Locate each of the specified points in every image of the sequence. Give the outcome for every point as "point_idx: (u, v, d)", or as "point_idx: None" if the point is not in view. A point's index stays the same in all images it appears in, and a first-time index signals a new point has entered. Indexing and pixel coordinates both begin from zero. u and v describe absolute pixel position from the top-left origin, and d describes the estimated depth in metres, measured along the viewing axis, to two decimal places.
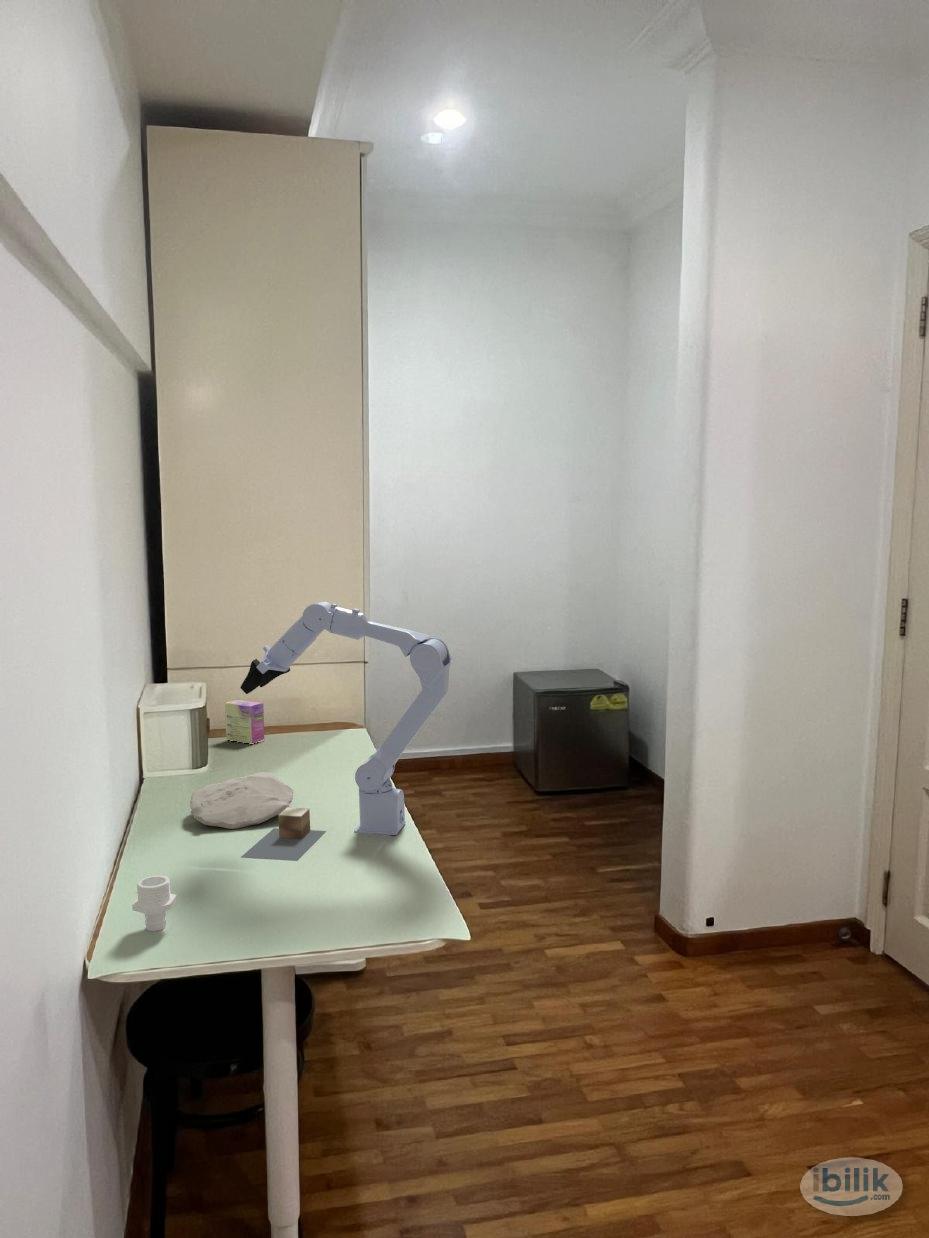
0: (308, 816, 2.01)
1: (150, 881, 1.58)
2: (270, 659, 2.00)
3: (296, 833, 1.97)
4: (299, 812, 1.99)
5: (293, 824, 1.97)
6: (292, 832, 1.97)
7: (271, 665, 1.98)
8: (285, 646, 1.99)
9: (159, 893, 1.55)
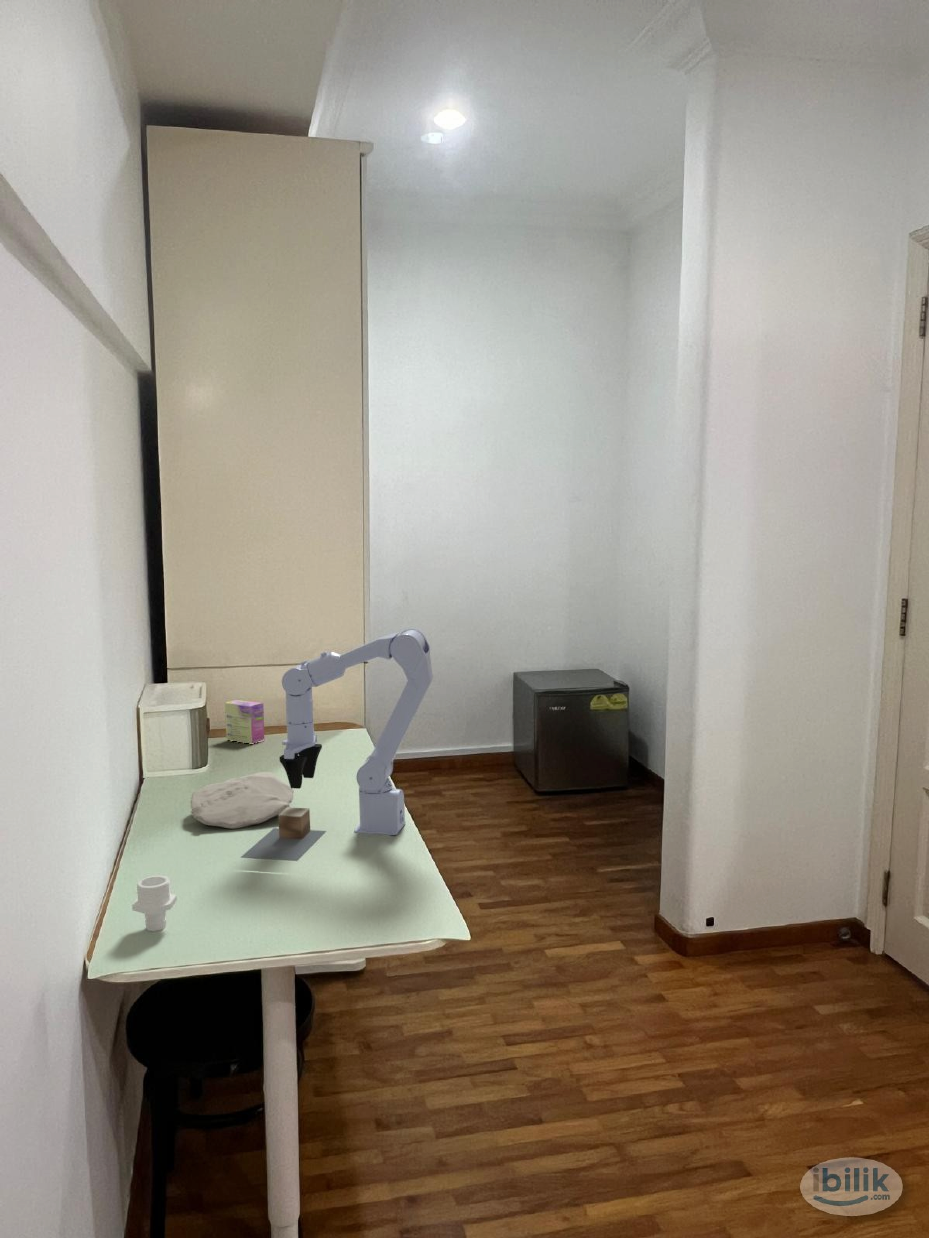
0: (308, 816, 2.01)
1: (150, 881, 1.58)
2: (292, 745, 2.00)
3: (296, 833, 1.97)
4: (299, 812, 1.99)
5: (293, 824, 1.97)
6: (292, 832, 1.97)
7: (295, 748, 1.98)
8: (293, 725, 2.00)
9: (159, 893, 1.55)
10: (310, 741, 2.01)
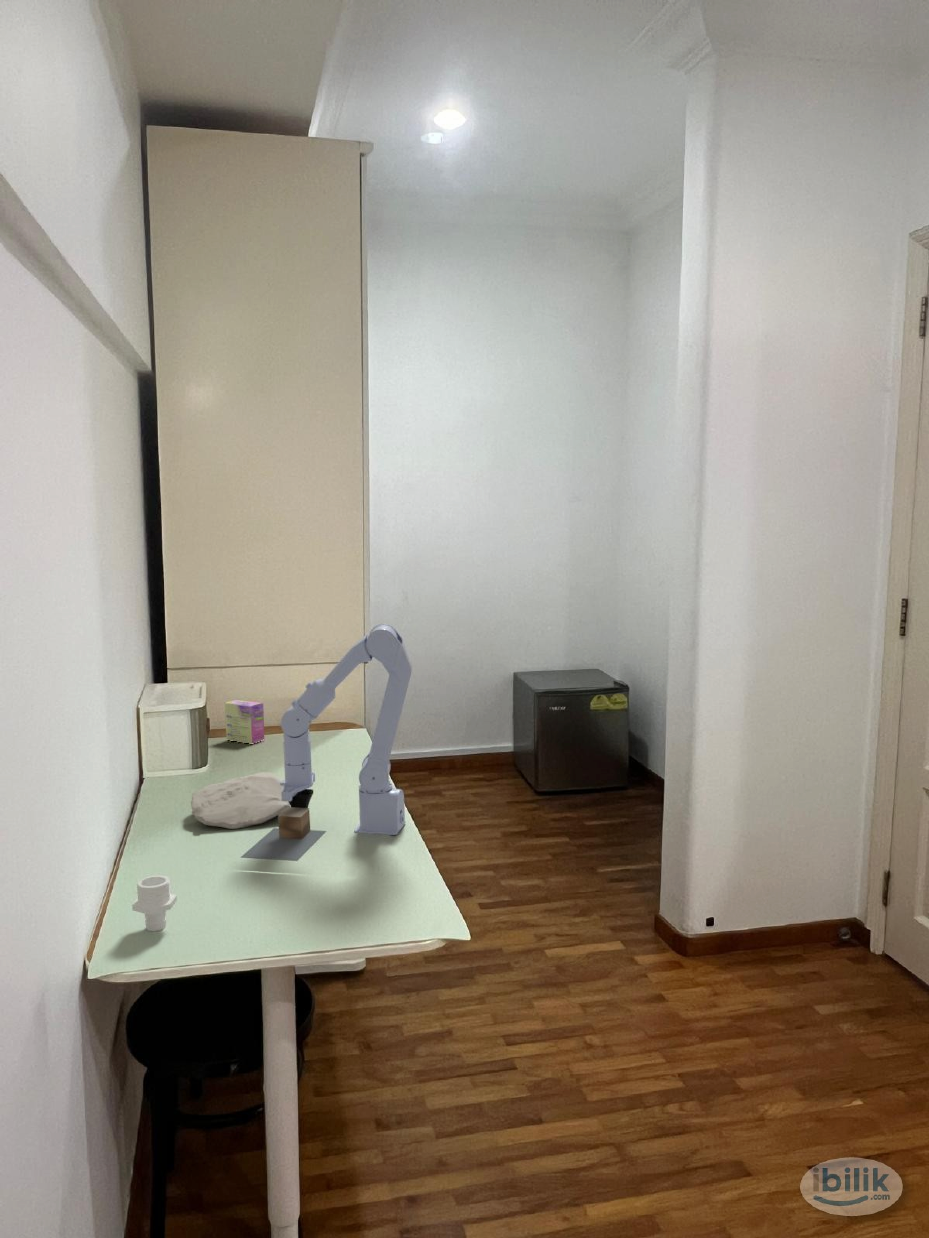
0: (308, 816, 2.01)
1: (150, 881, 1.58)
2: (290, 786, 1.99)
3: (296, 833, 1.97)
4: (299, 812, 1.98)
5: (293, 824, 1.97)
6: (292, 832, 1.97)
7: (293, 790, 1.97)
8: (291, 766, 1.99)
9: (159, 893, 1.55)
10: (308, 782, 2.00)
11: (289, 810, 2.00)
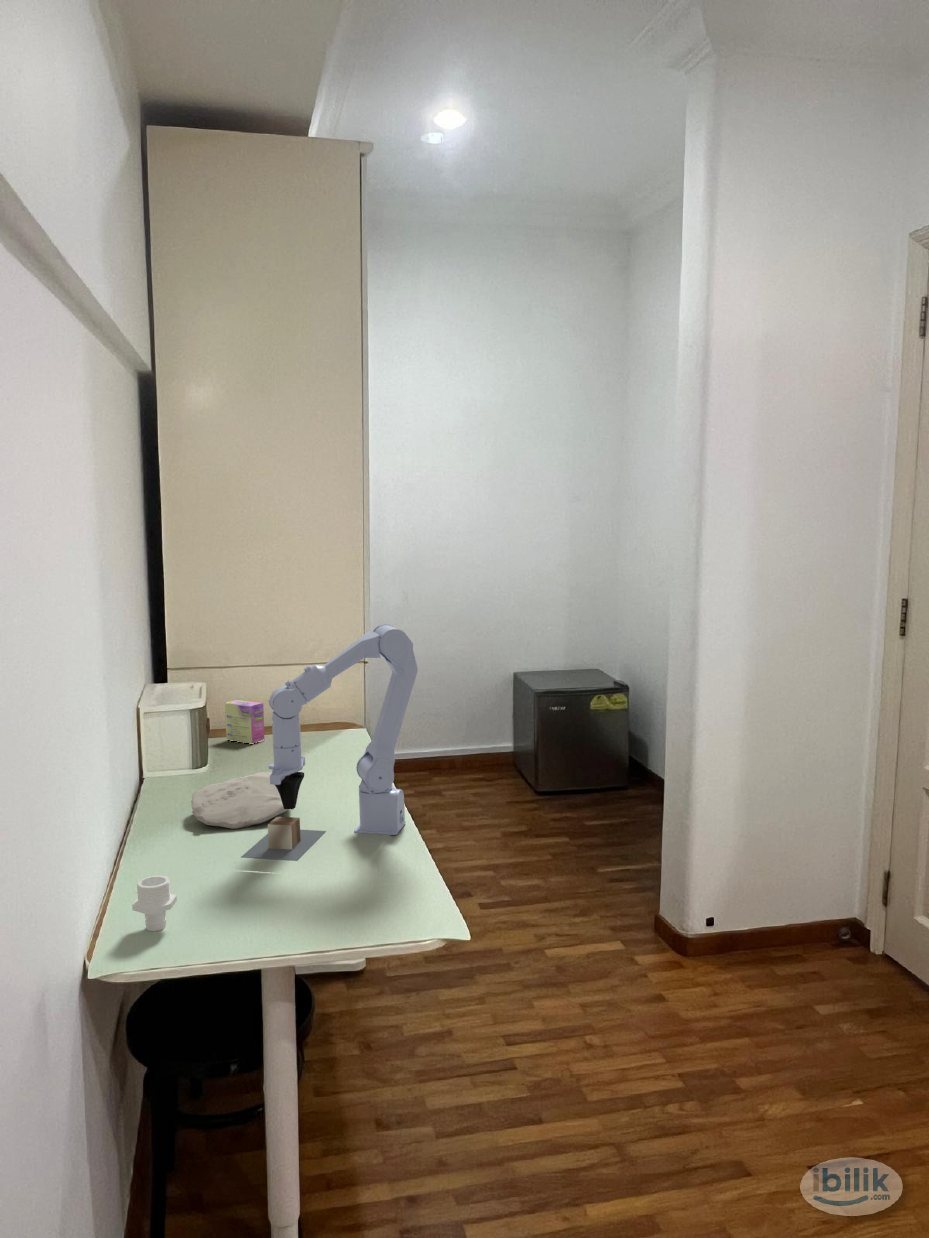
0: (294, 825, 1.92)
1: (150, 881, 1.58)
2: (279, 770, 1.93)
3: None
4: (286, 839, 1.91)
5: None
6: None
7: (282, 773, 1.91)
8: (280, 749, 1.93)
9: (159, 893, 1.55)
10: (297, 765, 1.94)
11: (274, 834, 1.91)
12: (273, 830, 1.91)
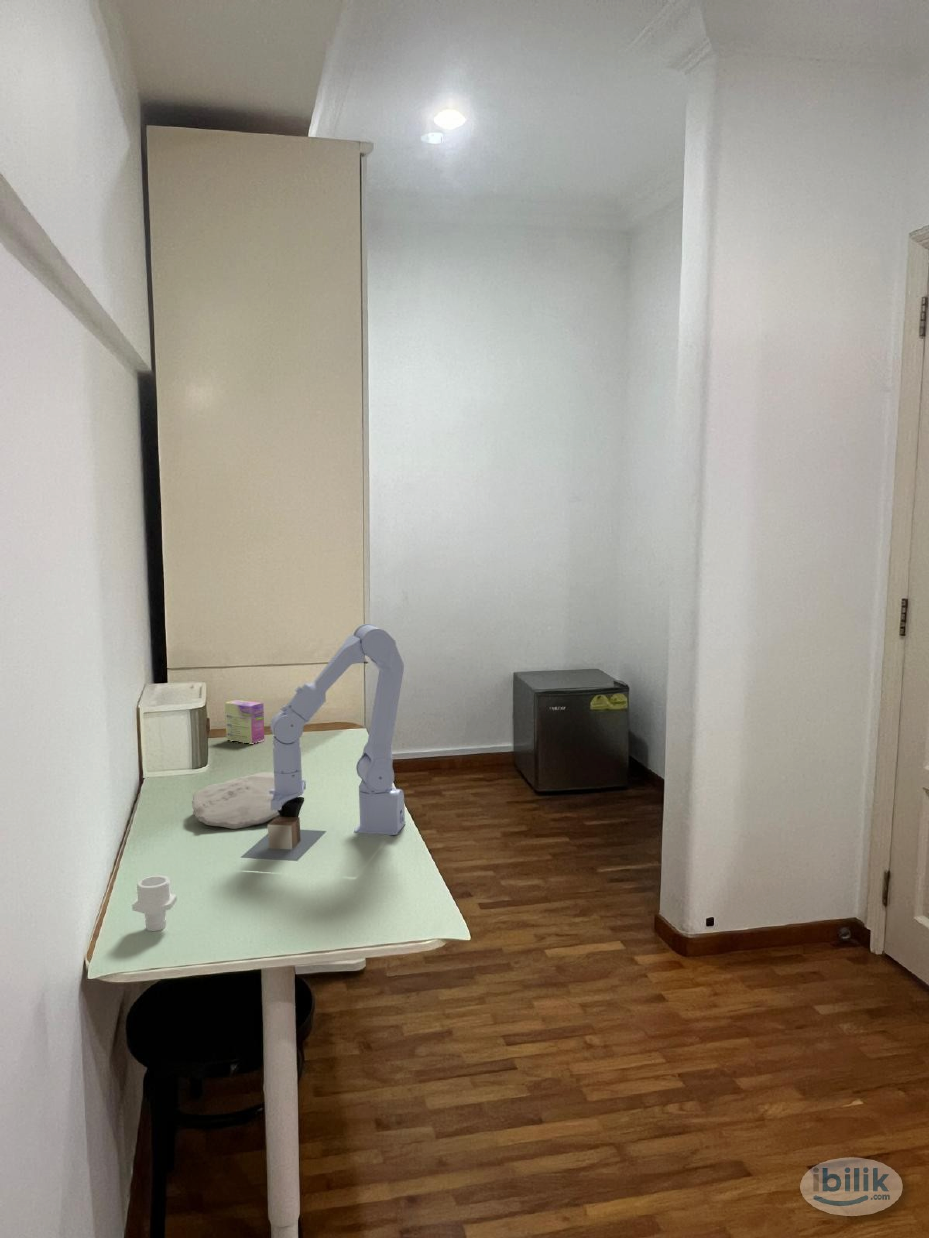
0: (294, 825, 1.92)
1: (150, 881, 1.58)
2: (280, 795, 1.93)
3: None
4: (286, 839, 1.91)
5: None
6: None
7: (283, 798, 1.91)
8: (281, 774, 1.93)
9: (159, 893, 1.55)
10: (298, 790, 1.95)
11: (274, 834, 1.91)
12: (273, 830, 1.91)
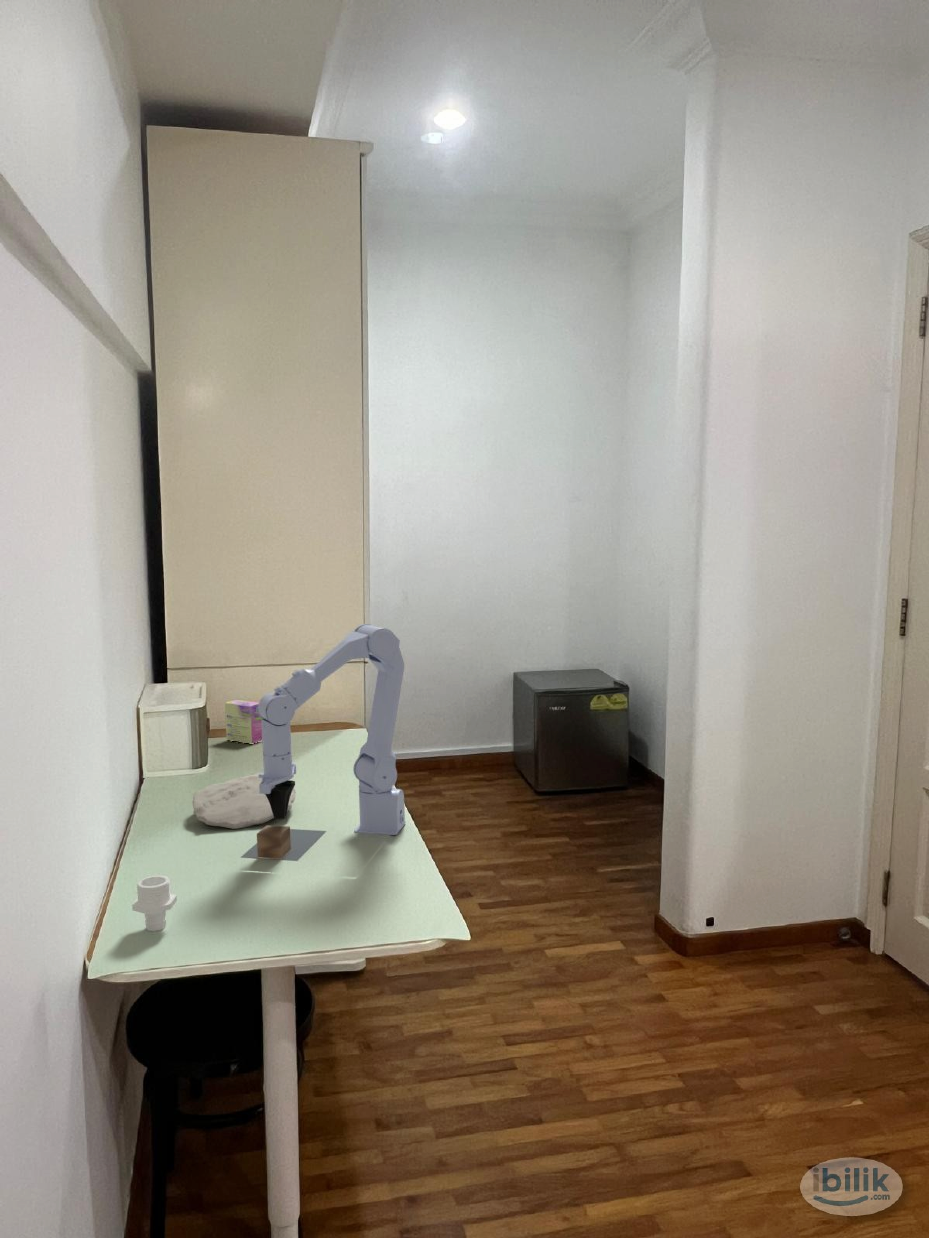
0: (282, 850, 1.86)
1: (150, 881, 1.58)
2: (269, 778, 1.88)
3: None
4: None
5: None
6: None
7: (272, 782, 1.86)
8: (270, 757, 1.87)
9: (159, 893, 1.55)
10: (288, 774, 1.89)
11: None
12: None
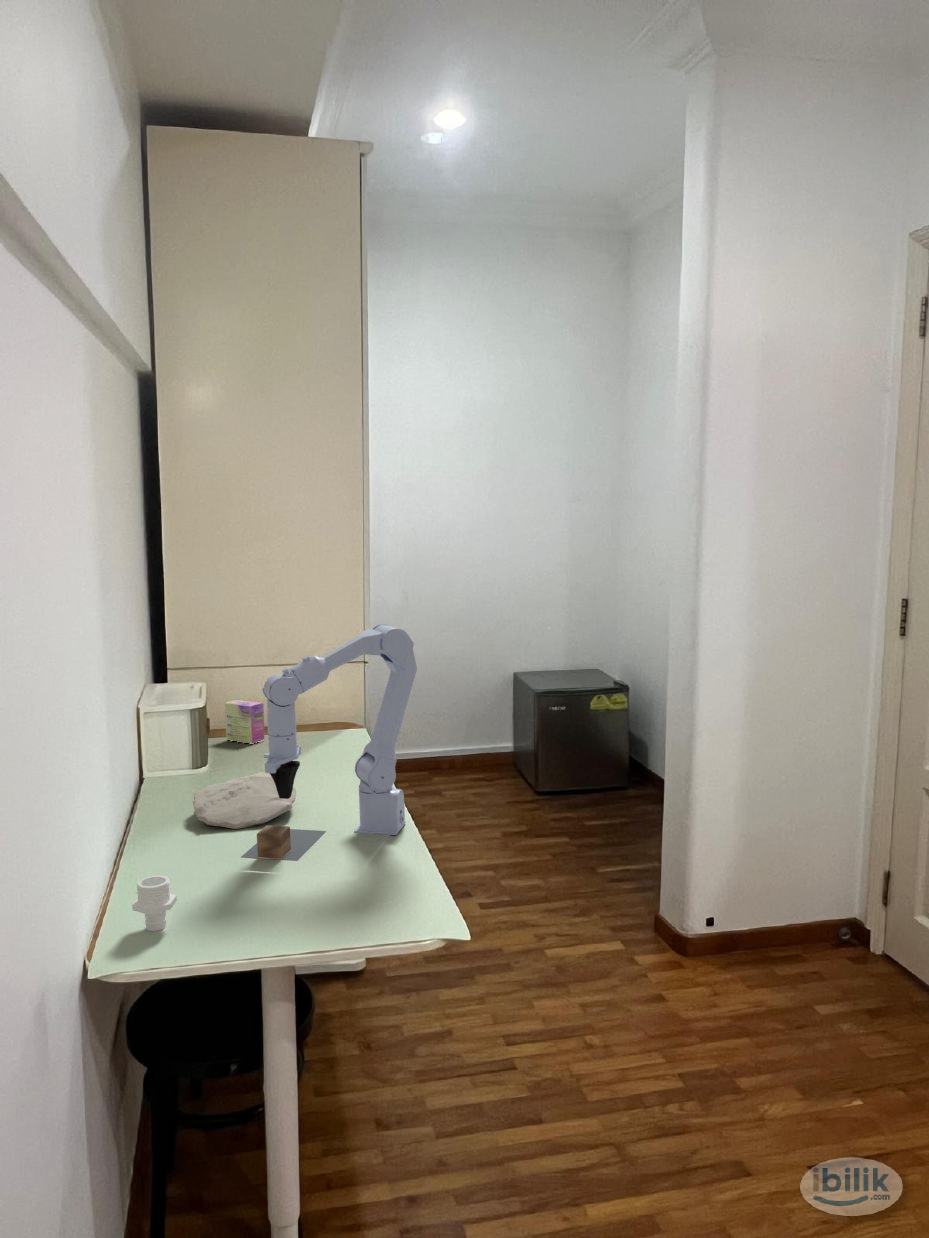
0: (282, 850, 1.86)
1: (150, 881, 1.58)
2: (274, 758, 1.90)
3: None
4: None
5: None
6: None
7: (277, 761, 1.88)
8: (275, 737, 1.90)
9: (159, 893, 1.55)
10: (293, 754, 1.91)
11: None
12: None
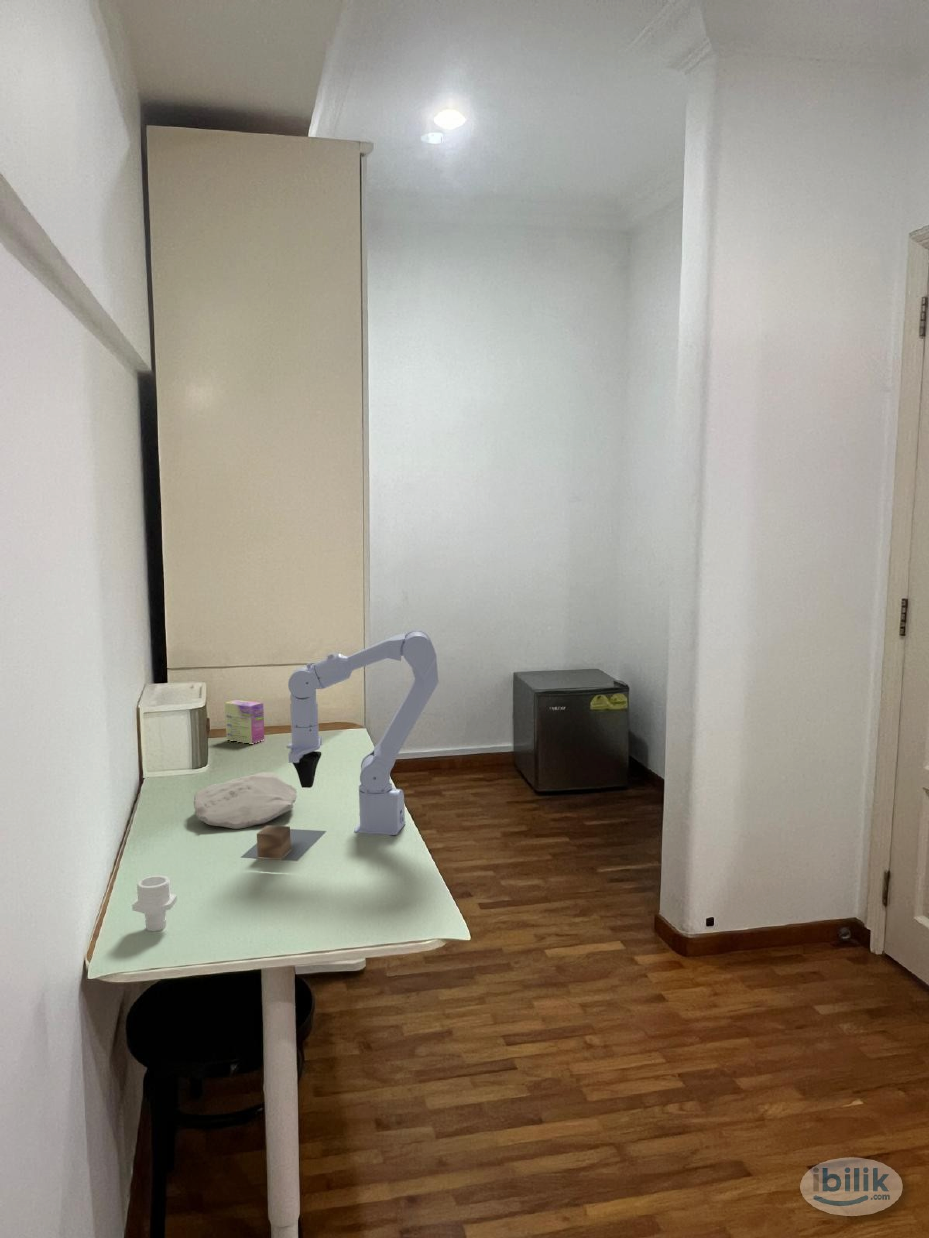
0: (282, 850, 1.86)
1: (150, 881, 1.58)
2: (297, 749, 1.97)
3: None
4: None
5: None
6: None
7: (300, 751, 1.95)
8: (298, 728, 1.97)
9: (159, 893, 1.55)
10: (315, 744, 1.98)
11: None
12: None
